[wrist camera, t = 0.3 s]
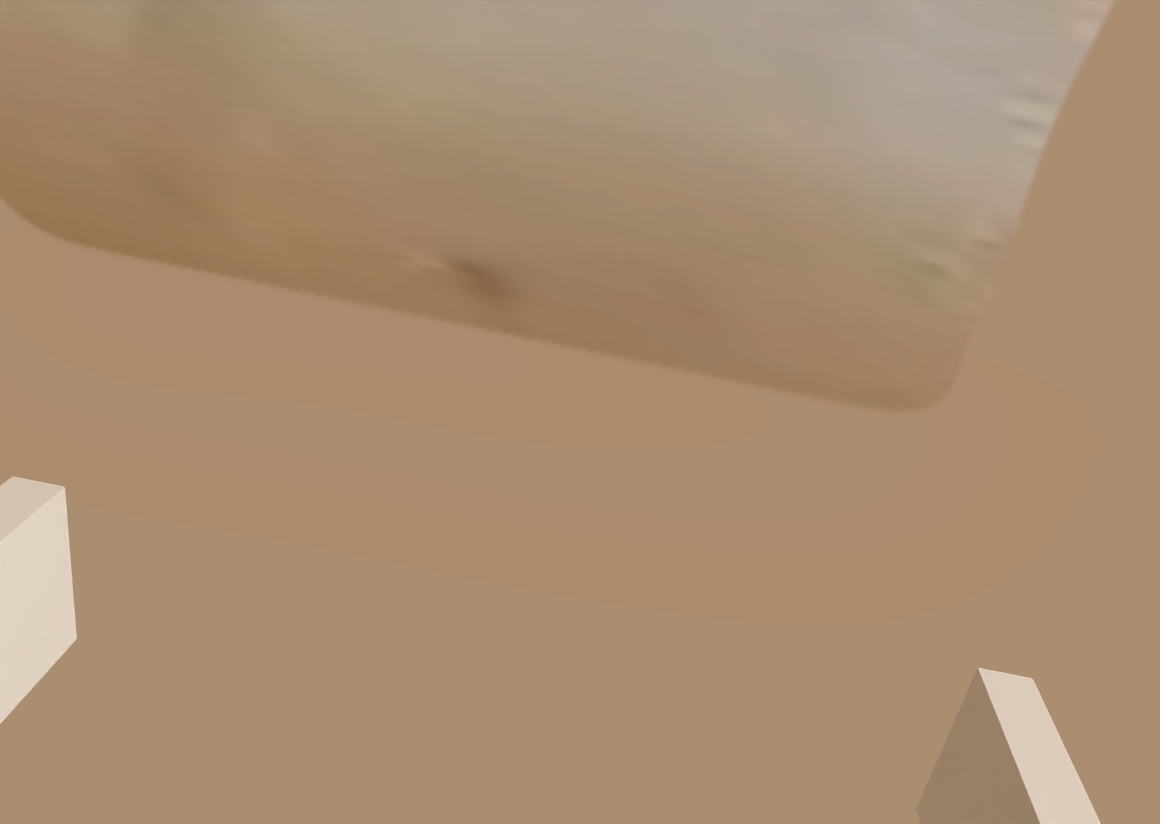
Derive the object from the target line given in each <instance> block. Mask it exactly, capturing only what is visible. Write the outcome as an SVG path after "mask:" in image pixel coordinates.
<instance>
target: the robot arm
mask: <svg viewBox="0 0 1160 824" xmlns="http://www.w3.org/2000/svg"><path fill="white" fill-rule="evenodd" d="M65 497H66V496H65V487H64V486H58V485H53V484H48V483H43V482H38V481H33V480H28V479H23V478H18V477H11V478H10V479H9V480H7V481H6V482H5V483H4V484H2V485H1V486H0V723H1V722H2V721H3V720H4V719H5V718H6V717H7V716H8V715H9V714H10V712H11V711H12V710H13V709H14V708H15V707H16V706H17V705H18V704H19V702H20V701H21V700H22V699H23V698H24V697H25V696H26V695H27V694H28V692H29V691H30V690H31V689H32V688H33V687H34V686H35V685H36V683H37V682H38V681H39V680H40V679H41V678H42V677H43V676H44V675H45V674H46V672H47V671H48V670H49V669H50V668H51V667H52V666H53V665H54V663H55V662H56V661H57V660H58V659H59V658H60V657H61V656H62V655H63V654H64V652H65V651H66V650H67V649H68V648H69V647H70V646H71V645H72V644H73V642H74V641H75V640H76V639H77V636H76V624H75V612H74V598H73V586H72V573H71V561H70V548H69V534H68V522H67V509H66V498H65ZM917 812H918V816H919V820H920V824H1100V821H1099V819H1098V817H1097V815H1096V813H1095V811H1094V809H1093V806H1092V804H1091V802H1090V800H1089V798H1088V796H1087V794H1086V792H1085V789H1084V787H1083V785H1082V783H1081V781H1080V779H1079V777H1078V775H1077V772H1076V770H1075V768H1074V766H1073V764H1072V762H1071V760H1070V757H1069V755H1068V753H1067V751H1066V749H1065V747H1064V745H1063V743H1062V740H1061V739H1060V736H1059V734H1058V732H1057V730H1056V728H1055V726H1054V723H1053V722H1052V719H1051V717H1050V715H1049V713H1048V711H1047V708H1046V706H1045V704H1044V702H1043V700H1042V698H1041V696H1040V694H1039V691H1038V689H1037V687H1036V685H1035V683H1034V681H1033V679H1032V678H1027V677H1022V676H1016V675H1012V674H1007V673H1002V672H997V671H992V670H987V669H982V668H978V669H977V671H976V673H975V675H974V678H973V680H972V683H971V685H970V687H969V689H968V692H967V694H966V696H965V698H964V701H963V703H962V705H961V708H960V710H959V712H958V715H957V717H956V719H955V721H954V724H953V726H952V728H951V730H950V733H949V735H948V737H947V740H946V742H945V744H944V747H943V749H942V751H941V753H940V756H939V758H938V761H937V763H936V765H935V767H934V770H933V772H932V774H931V777H930V779H929V781H928V783H927V786H926V788H925V790H924V793H923V795H922V797H921V799H920V802H919V804H918V806H917Z"/></svg>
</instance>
